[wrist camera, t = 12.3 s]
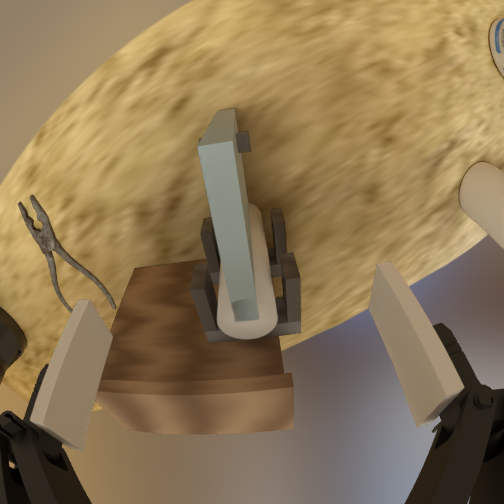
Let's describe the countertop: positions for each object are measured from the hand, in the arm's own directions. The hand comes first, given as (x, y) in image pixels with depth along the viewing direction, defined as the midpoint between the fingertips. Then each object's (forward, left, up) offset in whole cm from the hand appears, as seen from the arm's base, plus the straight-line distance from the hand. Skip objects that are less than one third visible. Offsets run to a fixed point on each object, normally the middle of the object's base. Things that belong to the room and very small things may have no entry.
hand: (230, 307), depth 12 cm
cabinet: (-5, -11, -18) cm, 22 cm away
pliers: (-26, -8, -19) cm, 33 cm away
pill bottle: (+31, -4, -18) cm, 36 cm away
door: (0, -1, -18) cm, 18 cm away
